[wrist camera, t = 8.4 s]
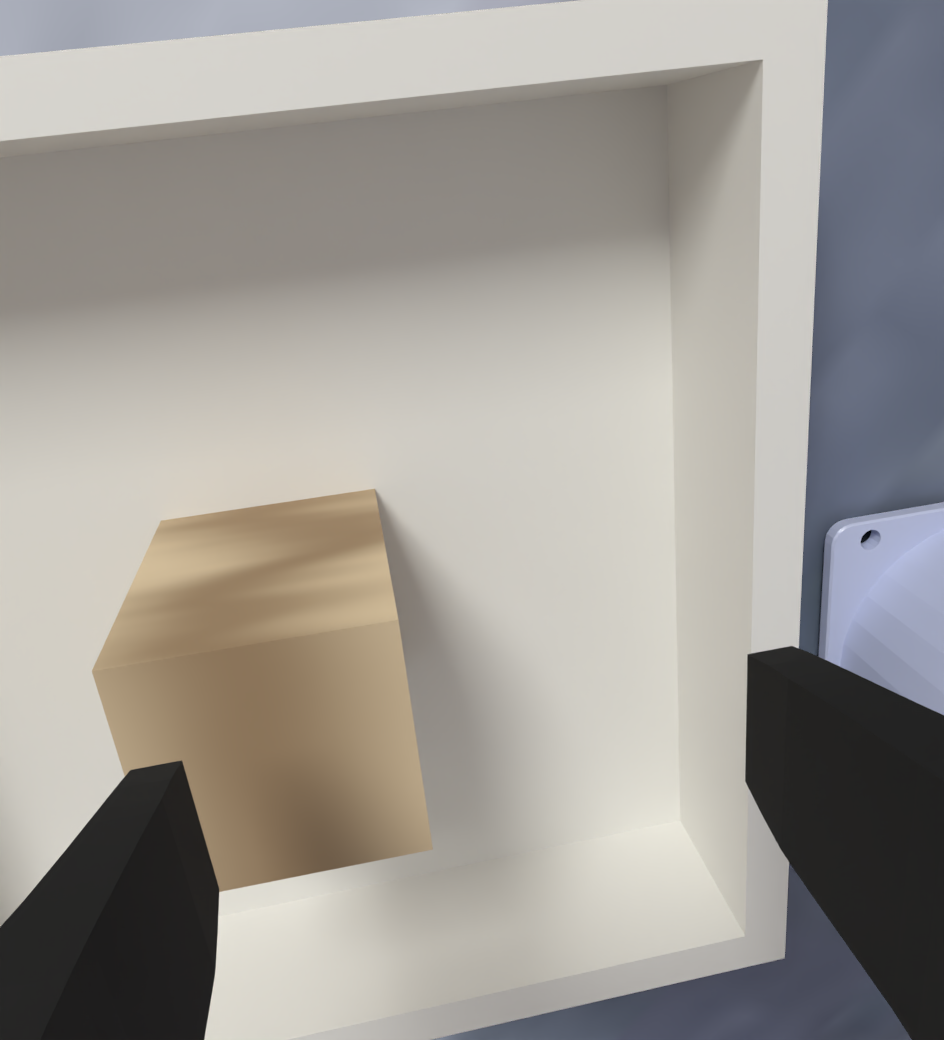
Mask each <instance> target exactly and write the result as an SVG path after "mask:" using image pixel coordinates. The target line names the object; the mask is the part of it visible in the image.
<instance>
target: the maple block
mask: <svg viewBox="0 0 944 1040" xmlns="http://www.w3.org/2000/svg"><path fill="white" fill-rule="evenodd" d="M92 674H93V677H94V680H95V683H96V686H97V690H98V693H99V696H100V699H101V702H102V706H103V709H104V712H105V715H106V718H107V722H108V725H109V728H110V731H111V734H112V738H113V741H114V744H115V747H116V750H117V753H118V757H119V760H120V763H121V766H122V769H123V773H124V776H126V775H127V773H128V772H129V771H130V770H133V769H138V768H144V767H149V766H154V765H160V764H165V763H170V762H176V761H181V760H182V762H183V766H184V769H185V772H186V776H187V779H188V783H189V786H190V790H191V793H192V797H193V800H194V803H195V807H196V810H197V814H198V817H199V821H200V824H201V828H202V831H203V834H204V838H205V841H206V845H207V848H208V852H209V855H210V859H211V862H212V865H213V869H214V872H215V876H216V879H217V883H218V886H219V892H222V891H227V890H232V889H237V888H242V887H247V886H252V885H257V884H262V883H267V882H272V881H277V880H282V879H287V878H292V877H297V876H302V875H307V874H312V873H317V872H322V871H328V870H333V869H338V868H343V867H348V866H353V865H358V864H363V863H368V862H373V861H378V860H383V859H388V858H393V857H398V856H403V855H408V854H413V853H418V852H423V851H428V850H433V847H432V840H431V833H430V827H429V820H428V813H427V807H426V800H425V793H424V787H423V780H422V773H421V767H420V760H419V753H418V747H417V740H416V733H415V727H414V720H413V713H412V707H411V700H410V693H409V687H408V680H407V673H406V667H405V660H404V653H403V647H402V640H401V633H400V627H399V620H398V615H397V609H396V603H395V598H394V592H393V587H392V581H391V576H390V570H389V565H388V559H387V554H386V548H385V543H384V537H383V531H382V526H381V520H380V515H379V509H378V504H377V498H376V493H375V489H369V490H363V491H356V492H349V493H342V494H336V495H329V496H322V497H316V498H309V499H302V500H296V501H289V502H282V503H276V504H269V505H262V506H255V507H249V508H242V509H235V510H229V511H222V512H215V513H209V514H202V515H195V516H189V517H182V518H175V519H169V520H162V521H160V524H159V526H158V528H157V530H156V532H155V534H154V537H153V539H152V541H151V543H150V545H149V547H148V550H147V552H146V554H145V556H144V558H143V561H142V563H141V565H140V567H139V569H138V571H137V574H136V576H135V578H134V580H133V582H132V584H131V587H130V589H129V591H128V593H127V595H126V598H125V600H124V602H123V604H122V606H121V608H120V611H119V613H118V615H117V617H116V619H115V622H114V624H113V626H112V628H111V630H110V632H109V635H108V637H107V639H106V641H105V643H104V645H103V648H102V650H101V652H100V654H99V656H98V659H97V661H96V663H95V665H94V667H93V669H92Z"/></svg>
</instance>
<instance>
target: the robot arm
mask: <svg viewBox="0 0 944 1040" xmlns="http://www.w3.org/2000/svg"><path fill="white" fill-rule="evenodd" d="M870 530H871V535H870V537H869V538H868V539H867V540H866V541H865V542H863V543H861V539H862V536H863V535H864V534H865V533H866V532H867V531H870ZM745 782H746V784H747V786H748V788H749V790H750V792H751V794H752V796H753V798H754V800H755V802H756V804H757V806H758V808H759V810H760V812H761V814H762V816H763V818H764V820H765V821H766V823H767V825H768V827H769V829H770V831H771V832H772V834H773V836H774V838H775V840H776V842H777V843H778V845H779V847H780V849H781V851H782V852H783V854H784V855H785V857H786V858H787V860H788V861H789V863H790V864H791V865H792V867H793V868H794V870H795V871H796V873H797V874H798V876H799V877H800V878H801V880H802V881H803V883H804V884H805V886H806V887H807V889H808V890H809V891H810V893H811V894H812V896H813V897H814V899H815V900H816V902H817V903H818V904H819V906H820V907H821V909H822V910H823V912H824V913H825V914H826V916H827V917H828V919H829V920H830V921H831V923H832V924H833V926H834V927H835V928H836V930H837V931H838V933H839V934H840V936H841V937H842V938H843V940H844V941H845V943H846V944H847V945H848V947H849V948H850V950H851V951H852V953H853V954H854V955H855V957H856V958H857V960H858V961H859V962H860V964H861V965H862V967H863V968H864V970H865V971H866V972H867V974H868V975H869V977H870V978H871V979H872V981H873V982H874V984H875V985H876V987H877V988H878V989H879V991H880V992H881V994H882V995H883V996H884V998H885V999H886V1001H887V1002H888V1004H889V1005H890V1006H891V1008H892V1009H893V1011H894V1012H895V1014H896V1016H897V1017H898V1019H899V1020H900V1022H901V1023H902V1025H903V1026H904V1028H905V1029H906V1031H907V1032H908V1034H909V1036H910V1037H911V1039H912V1040H944V502H942V503H936V504H930V505H925V506H919V507H913V508H907V509H901V510H895V511H890V512H884V513H878V514H872V515H866V516H860V517H855V518H849V519H844V520H841V521H839V522H837V523H835V524H834V525H833V526H832V527H831V528H830V529H829V531H828V532H827V534H826V538H825V548H824V566H823V584H822V602H821V620H820V638H819V656H816V655H813V654H811V653H809V652H806V651H804V650H801V649H799V648H796V647H794V646H789V647H783V648H778V649H773V650H767V651H762V652H757V653H751V654H748V655H747V709H746V763H745ZM218 911H219V886H218V883H217V879H216V876H215V872H214V869H213V865H212V862H211V859H210V855H209V852H208V848H207V845H206V841H205V838H204V834H203V831H202V828H201V824H200V821H199V817H198V814H197V810H196V807H195V803H194V800H193V797H192V793H191V790H190V786H189V783H188V779H187V776H186V772H185V769H184V766H183V762H182V760H181V761H176V762H170V763H165V764H160V765H154V766H149V767H144V768H138V769H133V770H130V771H129V772H128V773H127V775H126V776H125V777H124V778H123V779H122V780H121V782H120V783H119V784H118V785H117V787H116V788H115V789H114V790H113V792H112V793H111V794H110V795H109V797H108V798H107V799H106V800H105V802H104V803H103V804H102V805H101V807H100V808H99V809H98V810H97V812H96V813H95V814H94V815H93V817H92V818H91V819H90V820H89V822H88V823H87V824H86V825H85V827H84V828H83V829H82V830H81V832H80V833H79V834H78V835H77V837H76V838H75V839H74V840H73V842H72V843H71V844H70V845H69V846H68V848H67V849H66V850H65V851H64V853H63V854H62V855H61V856H60V858H59V859H58V860H57V861H56V862H55V864H54V865H53V866H52V867H51V868H50V870H49V871H48V872H47V873H46V874H45V876H44V877H43V878H42V879H41V881H40V882H39V883H38V884H37V885H36V887H35V888H34V889H33V890H32V891H31V893H30V894H29V895H28V896H27V897H26V899H25V900H24V901H23V902H22V903H21V904H20V905H19V907H18V908H17V909H16V910H15V911H14V912H13V913H12V914H11V915H10V917H9V918H8V919H7V920H6V921H5V922H4V923H3V924H2V925H1V926H0V1040H204V1038H205V1032H206V1026H207V1020H208V1014H209V1008H210V1002H211V996H212V990H213V984H214V977H215V970H216V953H217V936H218Z"/></svg>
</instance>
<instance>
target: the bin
mask: <svg viewBox="0 0 944 1040" xmlns="http://www.w3.org/2000/svg"><path fill="white" fill-rule="evenodd" d="M827 5H828V0H579V1H569V2H558V3H548V4H538V5H527V6H517V7H507V8H496V9H486V10H476V11H465V12H455V13H445V14H434V15H424V16H413V17H403V18H393V19H382V20H372V21H362V22H351V23H341V24H331V25H320V26H310V27H300V28H289V29H279V30H269V31H258V32H248V33H238V34H227V35H217V36H206V37H196V38H186V39H175V40H165V41H155V42H144V43H134V44H124V45H113V46H103V47H93V48H82V49H72V50H62V51H51V52H41V53H31V54H20V55H10V56H0V926H1V925H2V924H3V923H4V922H5V921H6V920H7V919H8V918H9V917H10V915H11V914H12V913H13V912H14V911H15V910H16V909H17V908H18V907H19V905H20V904H21V903H22V902H23V901H24V900H25V899H26V897H27V896H28V895H29V894H30V893H31V891H32V890H33V889H34V888H35V887H36V885H37V884H38V883H39V882H40V881H41V879H42V878H43V877H44V876H45V874H46V873H47V872H48V871H49V870H50V868H51V867H52V866H53V865H54V864H55V862H56V861H57V860H58V859H59V858H60V856H61V855H62V854H63V853H64V851H65V850H66V849H67V848H68V846H69V845H70V844H71V843H72V842H73V840H74V839H75V838H76V837H77V835H78V834H79V833H80V832H81V830H82V829H83V828H84V827H85V825H86V824H87V823H88V822H89V820H90V819H91V818H92V817H93V815H94V814H95V813H96V812H97V810H98V809H99V808H100V807H101V805H102V804H103V803H104V802H105V800H106V799H107V798H108V797H109V795H110V794H111V793H112V792H113V790H114V789H115V788H116V787H117V785H118V784H119V783H120V782H121V780H122V779H123V778H124V777H125V776H124V773H123V769H122V766H121V763H120V760H119V757H118V753H117V750H116V747H115V744H114V741H113V738H112V734H111V731H110V728H109V725H108V722H107V718H106V715H105V712H104V709H103V706H102V702H101V699H100V696H99V693H98V690H97V686H96V683H95V680H94V677H93V674H92V669H93V667H94V665H95V663H96V661H97V659H98V656H99V654H100V652H101V650H102V648H103V645H104V643H105V641H106V639H107V637H108V635H109V632H110V630H111V628H112V626H113V624H114V622H115V619H116V617H117V615H118V613H119V611H120V608H121V606H122V604H123V602H124V600H125V598H126V595H127V593H128V591H129V589H130V587H131V584H132V582H133V580H134V578H135V576H136V574H137V571H138V569H139V567H140V565H141V563H142V561H143V558H144V556H145V554H146V552H147V550H148V547H149V545H150V543H151V541H152V539H153V537H154V534H155V532H156V530H157V528H158V526H159V524H160V521H162V520H169V519H175V518H182V517H189V516H195V515H202V514H209V513H215V512H222V511H229V510H235V509H242V508H249V507H255V506H262V505H269V504H276V503H282V502H289V501H296V500H302V499H309V498H316V497H322V496H329V495H336V494H342V493H349V492H356V491H363V490H369V489H375V493H376V498H377V504H378V509H379V515H380V520H381V526H382V531H383V537H384V543H385V548H386V554H387V559H388V565H389V570H390V576H391V581H392V587H393V592H394V598H395V603H396V609H397V615H398V620H399V627H400V633H401V640H402V647H403V653H404V660H405V667H406V673H407V680H408V687H409V693H410V700H411V707H412V713H413V720H414V727H415V733H416V740H417V747H418V753H419V760H420V767H421V773H422V780H423V787H424V793H425V800H426V807H427V813H428V820H429V827H430V833H431V840H432V847H433V850H428V851H423V852H418V853H413V854H408V855H403V856H398V857H393V858H388V859H383V860H378V861H373V862H368V863H363V864H358V865H353V866H348V867H343V868H338V869H333V870H328V871H322V872H317V873H312V874H307V875H302V876H297V877H292V878H287V879H282V880H277V881H272V882H267V883H262V884H257V885H252V886H247V887H242V888H237V889H232V890H227V891H222V892H219V911H218V936H217V953H216V970H215V977H214V984H213V990H212V996H211V1002H210V1008H209V1014H208V1020H207V1026H206V1032H205V1038H204V1040H432V1039H436V1038H440V1037H445V1036H449V1035H453V1034H458V1033H462V1032H466V1031H471V1030H475V1029H479V1028H484V1027H488V1026H492V1025H497V1024H501V1023H505V1022H510V1021H514V1020H518V1019H523V1018H527V1017H531V1016H536V1015H540V1014H545V1013H549V1012H553V1011H558V1010H562V1009H566V1008H571V1007H575V1006H579V1005H584V1004H588V1003H592V1002H597V1001H601V1000H605V999H610V998H614V997H618V996H623V995H627V994H631V993H636V992H640V991H644V990H649V989H653V988H658V987H662V986H666V985H671V984H675V983H679V982H684V981H688V980H692V979H697V978H701V977H705V976H710V975H714V974H718V973H723V972H727V971H731V970H736V969H740V968H744V967H749V966H753V965H757V964H762V963H766V962H771V961H775V960H779V959H784V958H785V941H786V919H787V897H788V874H789V861H788V860H787V858H786V857H785V855H784V854H783V852H782V851H781V849H780V847H779V845H778V843H777V842H776V840H775V838H774V836H773V834H772V832H771V831H770V829H769V827H768V825H767V823H766V821H765V820H764V818H763V816H762V814H761V812H760V810H759V808H758V806H757V804H756V802H755V800H754V798H753V796H752V794H751V792H750V790H749V788H748V786H747V784H746V782H745V763H746V709H747V655H748V654H751V653H757V652H762V651H767V650H773V649H778V648H783V647H789V646H794V647H796V648H799V629H800V607H801V585H802V562H803V540H804V518H805V495H806V473H807V451H808V428H809V406H810V384H811V362H812V339H813V317H814V295H815V272H816V250H817V228H818V205H819V183H820V161H821V139H822V116H823V94H824V72H825V49H826V27H827Z"/></svg>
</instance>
